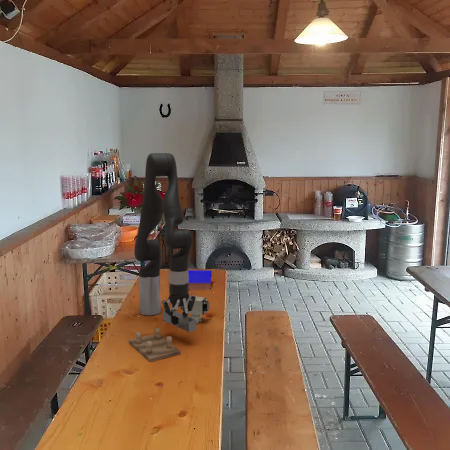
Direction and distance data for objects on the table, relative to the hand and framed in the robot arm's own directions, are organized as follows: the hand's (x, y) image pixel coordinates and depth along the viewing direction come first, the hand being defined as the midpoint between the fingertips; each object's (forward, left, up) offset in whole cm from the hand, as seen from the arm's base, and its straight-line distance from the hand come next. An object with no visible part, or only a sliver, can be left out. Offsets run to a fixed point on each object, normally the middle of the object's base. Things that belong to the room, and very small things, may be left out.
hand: (179, 322), depth 187 cm
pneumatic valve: (-13, +14, -7) cm, 20 cm away
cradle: (+3, -12, -7) cm, 14 cm away
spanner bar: (0, 0, -1) cm, 1 cm away
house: (-53, +35, -7) cm, 64 cm away
